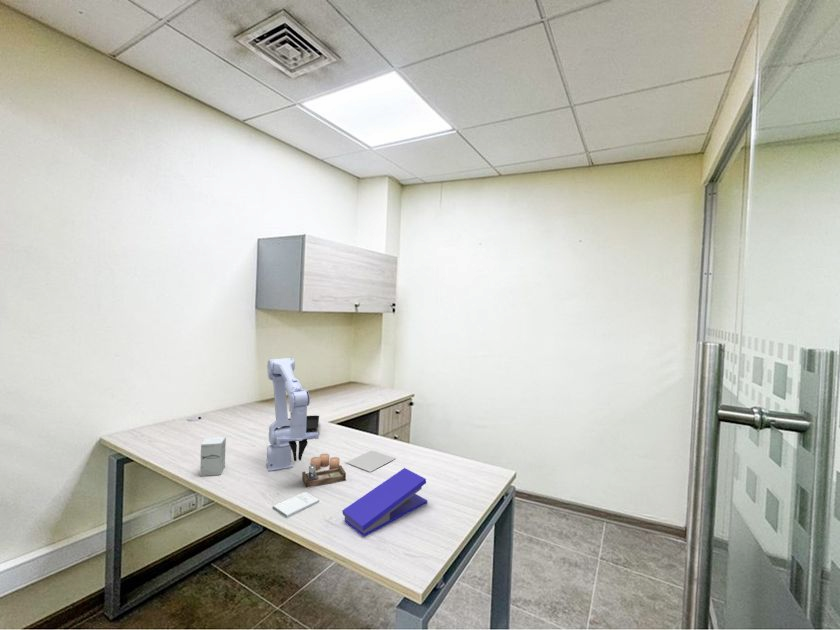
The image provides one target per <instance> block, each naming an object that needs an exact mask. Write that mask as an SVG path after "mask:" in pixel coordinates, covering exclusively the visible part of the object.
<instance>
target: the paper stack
mask: <svg viewBox="0 0 840 630" xmlns="http://www.w3.org/2000/svg"><path fill="white" fill-rule="evenodd" d="M395 459H397V458H396V457H393V456H390V455H387V454H384V453H381V452H377V451H376V450H373V449H372V450H369V451H367V452H366V453H363V454H361V455H359V456H356V457H354V458H353V459H350V460H348V461H345V463H346V464H349V465H352V466H354V467H357V468H359V469H362V470H365V471H367V472H369V473H370V472H373V471H375V470H377V469H379V468H380V467H382V466H384V465H386V464H388V463H390V462H392V461H394V460H395Z"/></svg>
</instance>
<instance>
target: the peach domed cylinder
mask: <svg viewBox="0 0 840 630" xmlns="http://www.w3.org/2000/svg"><path fill="white" fill-rule="evenodd" d="M339 466H340V457H339V456H334V457H329V466H328V470H331V469H337V468H339Z"/></svg>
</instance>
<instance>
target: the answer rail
mask: <svg viewBox="0 0 840 630" xmlns="http://www.w3.org/2000/svg"><path fill="white" fill-rule="evenodd" d="M301 473H302V474H301V480H302V482H303V486H304V488H305V489H307V488H313V487H318V486H322V485H324V486H325V485H328V484H333V483H339V482H344V481H346V480H347V479H346V478H347V472H346V471H345V469H344V468H343V466H342V465H340V464H339V468H337V469H331V470H329V469H327V470H321V471H320V470H318V471H315V473H316V475H317V477H318V479H317V480H312V481H308V477H307V475H306V471H305V470H304V471H302V472H301Z"/></svg>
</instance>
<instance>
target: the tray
mask: <svg viewBox="0 0 840 630" xmlns="http://www.w3.org/2000/svg"><path fill="white" fill-rule="evenodd" d="M288 419H289V420H290V418H288ZM319 419H320V415H307V421H306V433H312V432H316V431H317V430H318V428H319V423H320V421H319ZM284 427H288V426H283V427H282V428H284ZM278 428H279V427H277V428H275V429H278Z"/></svg>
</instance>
